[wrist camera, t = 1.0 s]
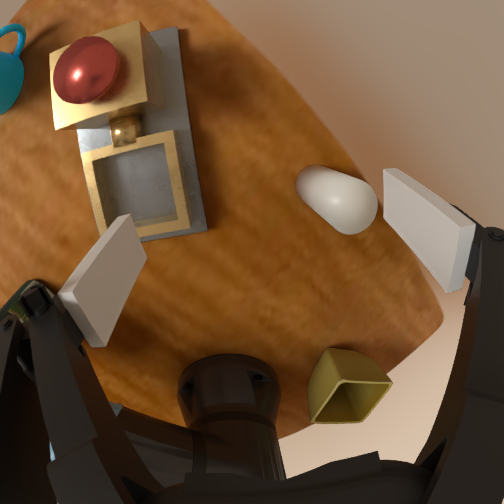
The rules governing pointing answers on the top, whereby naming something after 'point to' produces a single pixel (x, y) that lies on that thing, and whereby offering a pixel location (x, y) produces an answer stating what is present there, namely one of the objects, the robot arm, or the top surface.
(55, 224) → the top surface
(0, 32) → the mug
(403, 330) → the top surface
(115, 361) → the top surface
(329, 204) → the white rounded cylinder
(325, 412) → the flower pot
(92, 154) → the red push button box
